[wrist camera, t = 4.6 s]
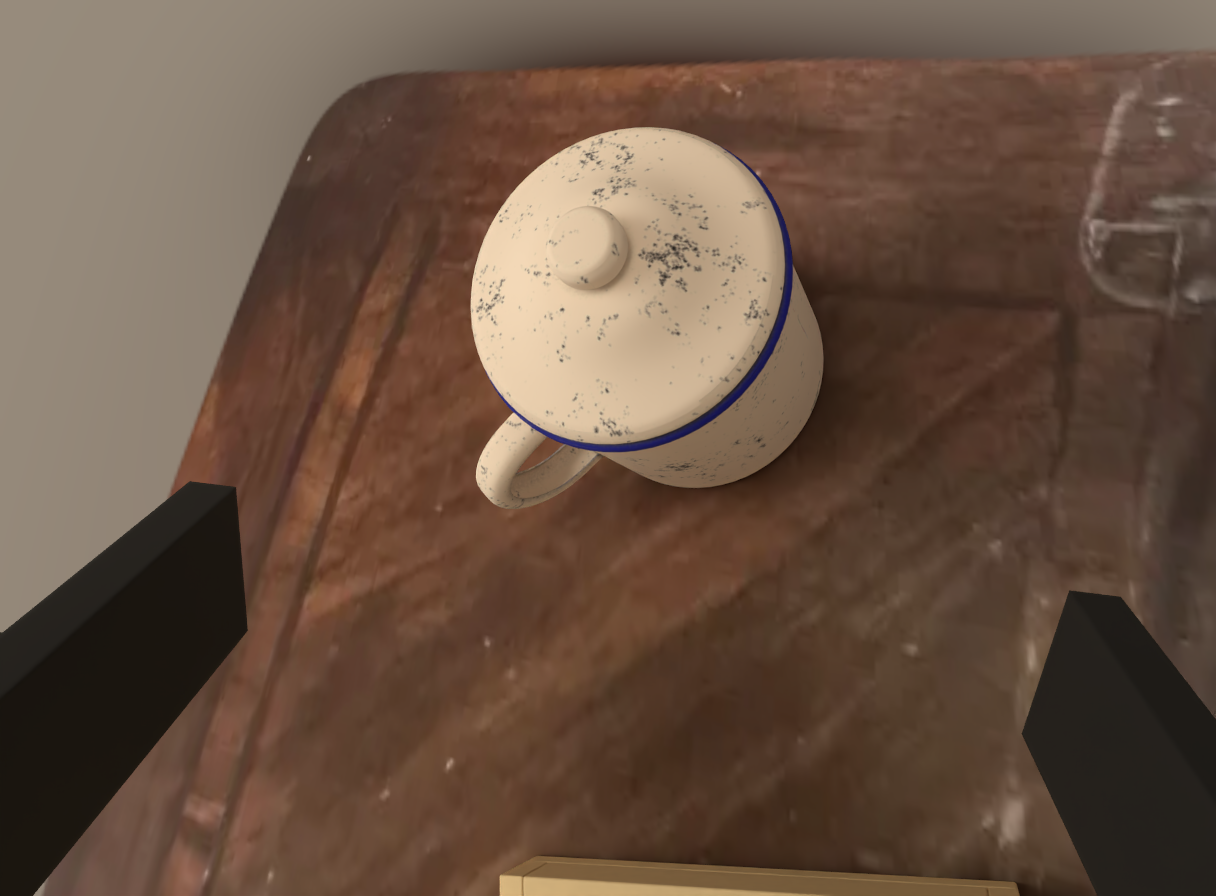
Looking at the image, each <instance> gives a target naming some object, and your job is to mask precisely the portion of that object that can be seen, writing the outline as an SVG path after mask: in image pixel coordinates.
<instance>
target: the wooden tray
mask: <svg viewBox="0 0 1216 896" xmlns="http://www.w3.org/2000/svg"><path fill="white" fill-rule="evenodd" d="M500 896H1020V895H1019V891H1018V888H1017V884H1016V883H1015V882H1007V881H989V880H970V879H952V878H934V877H915V876H897V875H879V874H861V873H842V872H824V871H806V870H787V869H769V868H751V867H733V866H714V865H696V864H678V863H659V862H641V861H623V860H604V859H586V858H568V857H550V856H536V857H534V858H532V859H530V860H528V861H526V862H524V863H522V864H520V865H518V866H517V867H515V868H513V869H511V870H509V871H507V872H505V873H503V874H501V875H500Z"/></svg>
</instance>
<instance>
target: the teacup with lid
mask: <svg viewBox="0 0 1216 896" xmlns="http://www.w3.org/2000/svg"><path fill="white" fill-rule="evenodd" d="M471 318H472V328H473V334H474V339H475V343H476V347H477V350H478V354H479V356H480V359H481V361H482V364H483V366H484V368H485V371H486V373H487V375H488V377H489V379H490V381H491V383H492V385H493V386H494V388H495V389H496V391H497V392H498V394H499V396H500V397H501V398H502V400H503V401H504V402H505V403H506V404H507V406H508V407H509V408H510V409H511V410H512V411H513V412H514V413H513V414H512V415H511V416H510V417H509V418H508V419H507V420H506V421H505V422H504V423H503V424H502V426H501V427H500V428H499V429H498V430H497V431H496V433H495V434H494V435H493V436H492V438H491V439H490V440H489V442H488V443H487V445H486V447H485V448H484V450H483V452H482V454H481V456H480V459H479V462H478V465H477V470H476V480H477V484H478V486H479V487H480V489H481V490H482V492H483V493H484V494H485V495H486V496H487V498H488V499H489V500H490V501H491V502H493V503H494V504H495V505H497V506H499V507H502V508H507V509H519V508H526V507H530V506H533V505H536V504H539V503H542V502H544V501H546V500H549V499H551V498H553V497H554V496H556V495H558V494H560V493H561V492H563V491H564V490H566V489H567V488H569V487H570V486H571V485H573V484H574V483H575V482H576V481H578V480H579V479H580V478H581V477H582V476H583V475H584V474H586V473H587V472H588V471H589V470H590V469H591V468H592V467H593V466H594V465H595V464H596V463H597V462H598V461H599V460H600V459H601V458H602V457H603V456H605V457H607V458H609V459H611V460H613V461H615V462H617V463H619V464H621V465H623V466H625V467H626V468H628V469H630V470H632V471H634V472H636V473H638V474H640V475H642V476H644V477H646V478H649V479H651V480H653V481H656V482H659V483H662V484H667V485H671V486H677V487H685V488H703V487H713V486H718V485H723V484H727V483H730V482H734V481H737V480H739V479H742V478H744V477H747V476H749V475H751V474H753V473H755V472H757V471H758V470H760V469H761V468H763V467H765V466H766V465H768V464H769V463H770V462H772V461H773V460H774V459H775V458H777V457H778V456H779V455H780V454H781V453H782V452H783V451H784V450H785V449H786V448H787V447H788V446H789V445H790V444H791V443H792V442H793V441H794V440H795V438H796V437H797V435H798V434H799V433H800V431H801V430H802V429H803V427H804V425H805V424H806V422H807V420H808V419H809V417H810V414H811V412H812V410H813V408H814V406H815V403H816V400H817V397H818V394H819V390H820V386H821V381H822V374H823V344H822V339H821V333H820V330H819V326H818V323H817V320H816V318H815V315H814V313H813V310H812V308H811V306H810V303H809V301H808V299H807V296H806V294H805V292H804V289H803V287H802V285H801V282H800V280H799V278H798V275H797V273H796V271H795V268H794V266H793V262H792V251H791V245H790V239H789V235H788V231H787V228H786V224H785V221H784V219H783V216H782V214H781V212H780V209H779V207H778V205H777V203H776V201H775V200H774V198H773V196H772V194H771V193H770V191H769V190H768V188H767V187H766V186H765V184H764V183H763V181H762V180H761V179H760V178H759V177H758V176H757V175H756V173H755V172H754V171H753V170H752V169H751V168H750V167H749V166H747V165H746V164H745V163H744V162H743V161H742V160H741V159H739V158H738V157H736V156H735V155H734V154H732V153H731V152H729V151H728V150H726V149H724V148H722V147H720V146H718V145H717V144H715V143H712V142H710V141H708V140H706V139H703V138H701V137H699V136H696V135H693V134H690V133H686V132H683V131H678V130H672V129H666V128H653V127H647V128H630V129H621V130H616V131H611V132H607V133H603V134H600V135H597V136H593V137H590V138H588V139H585V140H583V141H581V142H578V143H576V144H574V145H572V146H570V147H568V148H566V149H564V150H563V151H561V152H559V153H558V154H556V155H555V156H553V157H551V158H550V159H549V160H547V161H546V162H545V163H543V164H542V165H541V166H539V167H538V168H537V169H536V170H535V171H533V172H532V173H531V174H530V175H529V176H528V177H527V178H526V179H525V180H524V181H523V182H522V183H521V184H520V185H519V186H518V187H517V188H516V189H515V191H514V192H513V193H512V194H511V195H510V197H509V198H508V199H507V200H506V202H505V203H504V205H503V206H502V208H501V209H500V210H499V212H498V214H497V215H496V217H495V219H494V221H493V222H492V224H491V226H490V228H489V230H488V232H487V234H486V236H485V239H484V241H483V244H482V247H481V249H480V252H479V256H478V259H477V263H476V266H475V272H474V277H473V283H472V292H471ZM547 437H549V438H551V439H553V440H555V441H558V442H560V443H563V444H564V445H563V446H562V447H560V448H559V449H558V450H557V451H556V452H555V453H554V454H552V455H551V456H550V457H548V458H547V459H546V460H544V461H543V462H541V463H539V464H538V465H536V466H534V467H532V468H529V469H527V470H524V471H522V472H518V473H517V471H518V470H519V468H520V467H521V465H522V464H523V463H524V462H525V460H526V459H527V458H528V457H529V456H530V455H531V453H532V452H533V451H534V450H535V449H536V448H537V447H538V446H539V445H540V444H541V443H542V442H543V441H544V440H545V439H546V438H547Z"/></svg>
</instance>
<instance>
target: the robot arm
mask: <svg viewBox="0 0 1216 896" xmlns="http://www.w3.org/2000/svg"><path fill="white" fill-rule="evenodd" d="M247 631H248V629H247V617H246V604H245V592H244V580H243V568H242V556H241V544H240V532H239V520H238V507H237V495H236V487H231V486H223V485H215V484H207V483H199V482H191V481H190V482H189V483H187V484H186V485H185V486H184V487H182V488H181V489H180V490H179V491H177V492H176V493H175V494H174V495H172V496H171V497H170V498H169V499H167V500H166V501H165V502H164V503H162V504H161V505H160V506H159V507H158V508H156V509H155V510H154V511H153V512H151V513H150V514H149V515H148V516H147V517H145V518H144V519H143V520H141V521H140V522H139V523H138V524H137V525H135V526H134V527H133V528H132V529H130V530H129V531H128V532H127V533H125V534H124V535H123V536H122V537H120V538H119V539H118V540H117V541H116V542H114V543H113V544H112V545H110V546H109V547H108V548H107V549H106V550H104V551H103V552H102V553H101V554H99V555H98V556H97V557H96V558H94V559H93V560H92V561H91V562H89V563H88V564H87V565H86V566H85V567H83V568H82V569H81V570H80V571H78V572H77V573H76V574H75V575H73V576H72V577H71V578H70V579H68V580H67V581H66V582H65V583H63V584H62V585H61V586H60V587H58V588H57V589H56V590H55V591H54V592H52V593H51V594H50V595H49V596H47V597H46V598H45V599H44V600H42V601H41V602H40V603H39V604H37V605H36V606H35V607H34V608H33V609H32V610H30V611H29V612H28V613H26V614H25V615H24V616H23V617H21V618H20V619H19V620H18V621H16V622H15V623H14V624H13V625H11V626H10V627H9V628H8V629H6V630H5V631H4V632H3V633H1V632H0V896H33V895H34V894H35V892H36V891H37V890H38V889H39V888H40V886H41V885H42V884H43V883H44V881H45V880H46V879H47V878H48V876H49V875H50V874H51V873H52V871H53V870H54V869H55V868H56V867H57V865H58V864H59V863H60V862H61V860H62V859H63V858H64V857H65V855H66V854H67V853H68V852H69V851H70V849H71V848H72V847H73V846H74V844H75V843H76V842H77V841H78V839H79V838H80V837H81V836H82V834H83V833H84V832H85V831H86V830H87V828H88V827H89V826H90V825H91V823H92V822H93V821H94V820H95V818H96V817H97V816H98V815H99V814H100V812H101V811H102V810H103V809H104V807H105V806H106V805H107V804H108V802H109V801H110V800H111V799H112V797H113V796H114V795H115V794H116V793H117V791H118V790H119V789H120V788H121V786H122V785H123V784H124V783H125V781H126V780H127V779H128V778H129V777H130V775H131V774H132V773H133V772H134V770H135V769H136V768H137V767H138V765H139V764H140V763H141V762H142V760H143V759H144V758H145V757H146V756H147V754H148V753H149V752H150V751H151V749H152V748H153V747H154V746H155V744H156V743H157V742H158V741H159V739H160V738H161V737H162V736H163V735H164V733H165V732H166V731H167V730H168V728H169V727H170V726H171V725H172V723H173V722H174V721H175V720H176V719H177V717H178V716H179V715H180V714H181V712H182V711H183V710H184V709H185V707H186V706H187V705H188V704H189V702H190V701H191V700H192V699H193V698H194V696H195V695H196V694H197V693H198V691H199V690H200V689H201V688H202V686H203V685H204V684H205V683H206V682H207V680H208V679H209V678H210V677H211V675H212V674H213V673H214V672H215V670H216V669H217V668H218V667H219V665H220V664H221V663H222V662H223V661H224V659H225V658H226V657H227V656H228V654H229V653H230V652H231V651H232V649H233V648H234V647H235V646H236V645H237V643H238V642H239V641H240V640H241V638H242V637H243V636H244V635H245V633H246V632H247ZM1022 735H1023V738H1024V740H1025V742H1026V744H1027V746H1028V748H1029V750H1030V752H1031V755H1032V757H1033V759H1034V761H1035V763H1036V765H1037V767H1038V770H1039V772H1040V774H1041V776H1042V778H1043V780H1044V782H1045V785H1046V787H1047V789H1048V791H1049V793H1050V795H1051V797H1052V799H1053V802H1054V804H1055V806H1056V808H1057V810H1058V812H1059V814H1060V817H1061V819H1062V821H1063V823H1064V825H1065V827H1066V829H1067V831H1068V834H1069V836H1070V838H1071V840H1072V842H1073V844H1074V846H1075V849H1076V851H1077V853H1078V855H1079V857H1080V859H1081V861H1082V863H1083V866H1084V868H1085V870H1086V872H1087V874H1088V876H1089V878H1090V881H1091V883H1092V885H1093V887H1094V889H1095V891H1096V893H1097V895H1098V896H1216V719H1215V718H1214V717H1213V715H1212V714H1211V713H1210V711H1209V710H1208V709H1207V707H1206V706H1205V705H1204V704H1203V702H1202V701H1201V700H1200V698H1199V697H1198V696H1197V695H1196V693H1195V692H1194V691H1193V689H1192V688H1191V687H1190V686H1189V684H1188V683H1187V682H1186V680H1185V679H1184V678H1183V676H1182V675H1181V674H1180V673H1179V671H1178V670H1177V669H1176V667H1175V666H1174V665H1173V664H1172V662H1171V661H1170V660H1169V658H1168V657H1167V656H1166V655H1165V653H1164V652H1163V651H1162V649H1161V648H1160V647H1159V646H1158V644H1157V643H1156V642H1155V640H1154V639H1153V638H1152V636H1151V635H1150V634H1149V633H1148V631H1147V630H1146V629H1145V627H1144V626H1143V625H1142V624H1141V622H1140V621H1139V620H1138V618H1137V617H1136V616H1135V615H1134V613H1133V612H1132V611H1131V609H1130V608H1129V607H1128V605H1127V604H1126V603H1125V602H1124V600H1123V599H1122V598H1121V597H1118V596H1110V595H1102V594H1094V593H1086V592H1077V591H1069V593H1068V596H1067V599H1066V602H1065V605H1064V608H1063V611H1062V614H1061V617H1060V620H1059V623H1058V626H1057V629H1056V632H1055V635H1054V638H1053V641H1052V644H1051V647H1050V650H1049V653H1048V656H1047V659H1046V663H1045V666H1044V669H1043V672H1042V675H1041V678H1040V681H1039V684H1038V687H1037V690H1036V693H1035V696H1034V699H1033V702H1032V705H1031V708H1030V711H1029V714H1028V717H1027V720H1026V723H1025V726H1024V729H1023V732H1022Z"/></svg>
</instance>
